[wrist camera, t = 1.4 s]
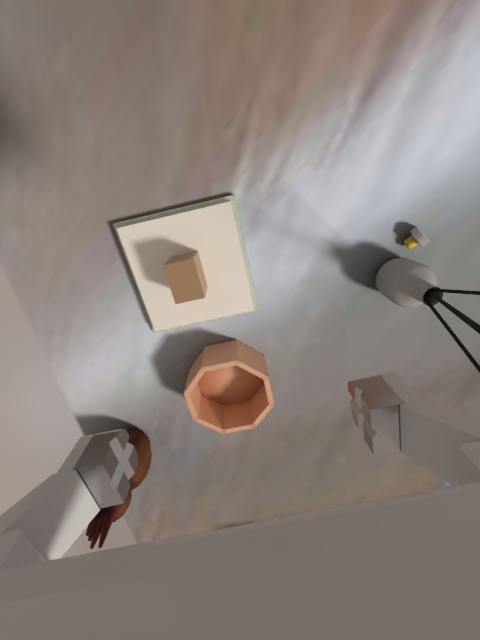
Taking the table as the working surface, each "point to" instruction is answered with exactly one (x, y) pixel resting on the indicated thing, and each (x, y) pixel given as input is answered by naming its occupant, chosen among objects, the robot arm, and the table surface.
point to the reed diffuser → (419, 286)
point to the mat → (185, 209)
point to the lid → (188, 266)
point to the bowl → (229, 387)
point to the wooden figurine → (113, 513)
